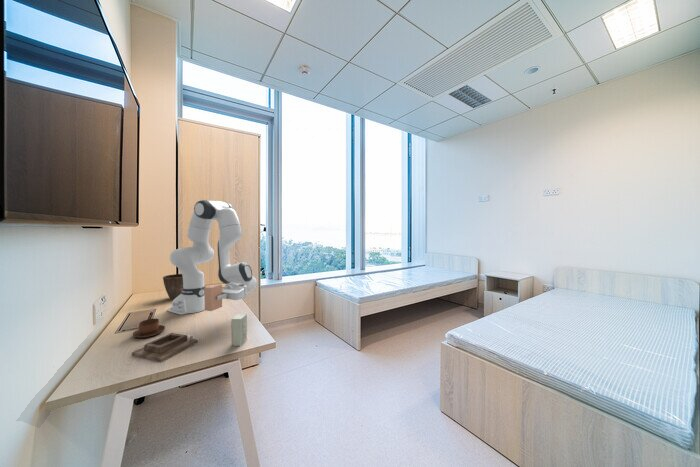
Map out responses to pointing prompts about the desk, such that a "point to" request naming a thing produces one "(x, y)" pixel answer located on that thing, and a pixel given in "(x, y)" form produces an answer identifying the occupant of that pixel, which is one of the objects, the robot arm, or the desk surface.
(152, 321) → the cup and saucer
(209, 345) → the desk surface
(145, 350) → the keyed holder
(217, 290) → the keyed block
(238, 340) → the skincare box
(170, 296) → the plant pot
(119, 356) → the desk surface
